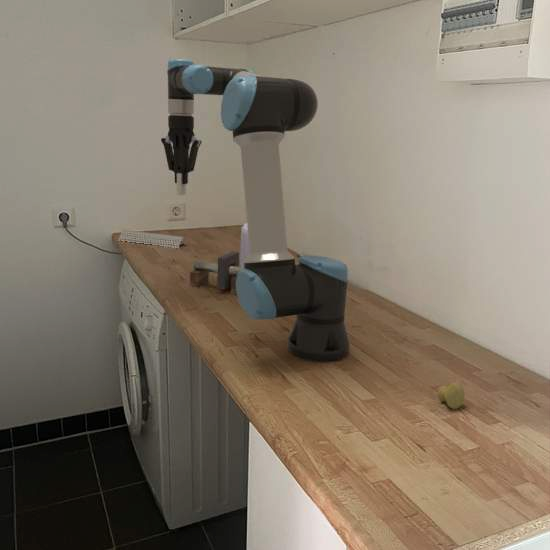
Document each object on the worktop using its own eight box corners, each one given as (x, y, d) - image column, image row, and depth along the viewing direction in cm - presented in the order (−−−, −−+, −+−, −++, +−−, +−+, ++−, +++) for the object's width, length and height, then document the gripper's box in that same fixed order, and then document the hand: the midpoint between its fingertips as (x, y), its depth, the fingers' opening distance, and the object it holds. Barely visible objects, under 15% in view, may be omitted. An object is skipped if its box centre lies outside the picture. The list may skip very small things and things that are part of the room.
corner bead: (116, 243, 245) (116, 231, 244) (128, 239, 254) (127, 228, 252) (178, 250, 237) (177, 238, 236) (187, 246, 245) (187, 234, 244)
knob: (466, 406, 117) (470, 384, 116) (449, 412, 114) (452, 389, 113) (448, 396, 121) (451, 375, 120) (431, 402, 118) (434, 380, 117)
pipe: (246, 276, 184) (247, 266, 184) (242, 278, 182) (242, 268, 181) (197, 268, 191) (197, 259, 190) (193, 270, 188) (193, 261, 187)
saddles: (249, 289, 188) (249, 274, 186) (239, 295, 181) (239, 279, 180) (200, 281, 194) (200, 267, 193) (189, 286, 188) (190, 271, 186)
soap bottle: (261, 265, 217) (263, 205, 210) (269, 270, 211) (271, 208, 204) (239, 267, 213) (240, 206, 207) (246, 272, 207) (248, 209, 201)
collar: (238, 281, 190) (238, 252, 187) (224, 289, 181) (224, 258, 178) (231, 280, 191) (232, 251, 188) (217, 288, 182) (217, 257, 179)
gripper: (206, 116, 171) (205, 195, 178) (169, 114, 176) (169, 191, 182) (193, 115, 165) (193, 198, 171) (155, 113, 169) (156, 194, 176)
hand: (181, 194), depth 177 cm, fingers closed
